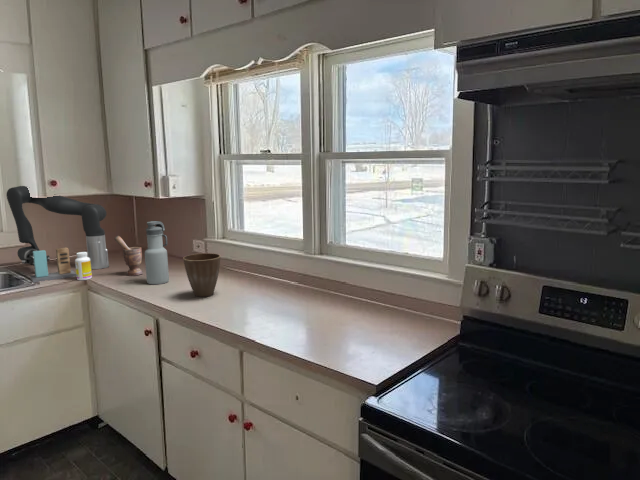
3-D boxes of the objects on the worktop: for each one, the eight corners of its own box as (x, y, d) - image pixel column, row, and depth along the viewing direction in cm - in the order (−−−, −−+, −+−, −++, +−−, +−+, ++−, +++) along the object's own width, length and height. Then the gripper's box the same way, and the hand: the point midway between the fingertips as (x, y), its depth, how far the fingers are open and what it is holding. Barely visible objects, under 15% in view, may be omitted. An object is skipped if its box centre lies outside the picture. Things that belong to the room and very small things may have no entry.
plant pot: (229, 294, 211) (227, 256, 208) (197, 301, 201) (194, 261, 198) (210, 288, 221) (208, 251, 219) (178, 295, 211) (176, 257, 209)
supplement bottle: (94, 277, 248) (92, 251, 246) (87, 280, 241) (84, 253, 239) (81, 277, 248) (79, 251, 246) (73, 280, 242) (71, 254, 240)
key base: (72, 272, 259) (72, 270, 259) (77, 276, 251) (76, 273, 251) (30, 278, 248) (29, 275, 248) (33, 282, 240) (32, 279, 240)
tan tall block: (69, 271, 255) (66, 247, 253) (71, 272, 252) (68, 248, 250) (58, 272, 252) (55, 248, 250) (59, 274, 249) (57, 249, 247)
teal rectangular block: (47, 274, 249) (44, 250, 247) (48, 275, 246) (45, 251, 244) (35, 275, 246) (32, 251, 244) (36, 277, 243) (33, 252, 241)
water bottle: (156, 279, 241) (152, 220, 237) (174, 280, 238) (169, 220, 233) (142, 284, 232) (137, 222, 227) (160, 285, 228) (155, 223, 224)
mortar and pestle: (125, 278, 244) (122, 237, 241) (115, 276, 249) (112, 235, 246) (147, 273, 253) (143, 233, 250) (137, 271, 258) (133, 232, 255)
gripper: (17, 251, 259) (22, 256, 246) (46, 248, 267) (52, 252, 253) (19, 266, 261) (24, 271, 247) (48, 262, 268) (54, 267, 255)
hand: (38, 262), depth 250 cm, fingers closed
